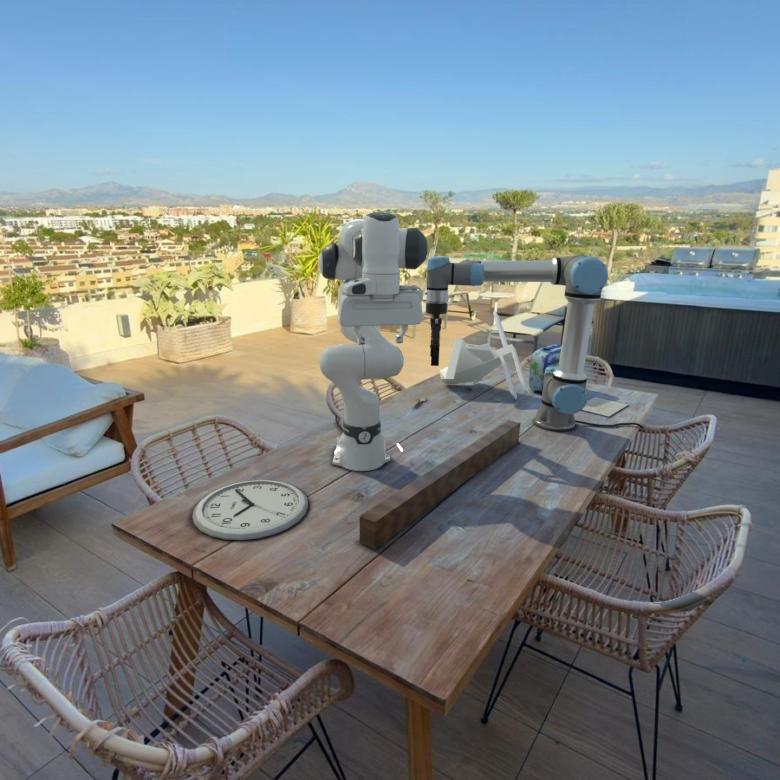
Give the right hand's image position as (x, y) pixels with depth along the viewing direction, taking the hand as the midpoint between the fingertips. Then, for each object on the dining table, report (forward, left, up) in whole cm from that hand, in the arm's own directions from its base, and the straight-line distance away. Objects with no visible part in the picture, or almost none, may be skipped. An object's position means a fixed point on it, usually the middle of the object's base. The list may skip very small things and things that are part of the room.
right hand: (434, 361), depth 189 cm
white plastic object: (-20, -51, -27) cm, 61 cm away
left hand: (+12, +62, +19) cm, 66 cm away
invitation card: (-72, -39, -27) cm, 86 cm away
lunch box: (-54, -62, -27) cm, 86 cm away
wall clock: (+45, +65, -27) cm, 84 cm away
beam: (-9, +42, -27) cm, 50 cm away
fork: (+6, -30, -27) cm, 41 cm away
